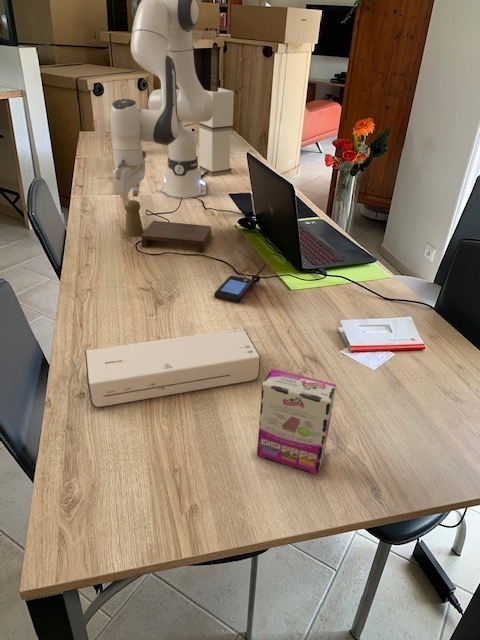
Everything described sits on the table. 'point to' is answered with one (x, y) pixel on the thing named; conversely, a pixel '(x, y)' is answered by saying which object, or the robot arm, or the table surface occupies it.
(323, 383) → the candy bar box
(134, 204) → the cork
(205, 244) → the desk riser
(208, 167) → the white square pillar
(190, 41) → the robot arm
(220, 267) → the table surface
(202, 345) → the laminator
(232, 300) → the handheld console
